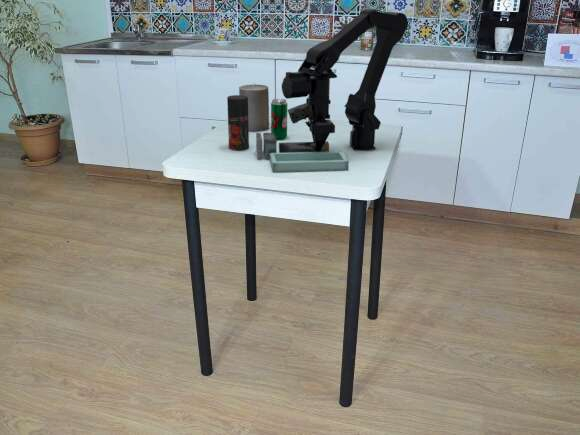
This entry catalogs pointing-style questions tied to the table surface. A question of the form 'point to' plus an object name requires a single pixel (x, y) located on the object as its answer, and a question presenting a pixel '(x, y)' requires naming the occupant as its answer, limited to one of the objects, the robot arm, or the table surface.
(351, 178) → the table surface
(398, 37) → the robot arm
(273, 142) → the clevis
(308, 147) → the dark grey cylinder
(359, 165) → the table surface
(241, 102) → the deodorant
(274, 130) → the soda can
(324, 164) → the tray
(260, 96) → the pillar candle
